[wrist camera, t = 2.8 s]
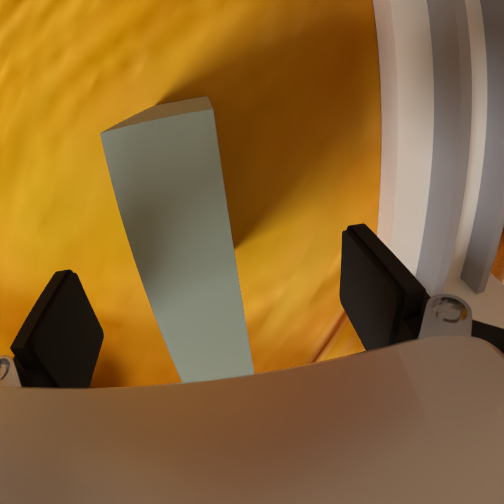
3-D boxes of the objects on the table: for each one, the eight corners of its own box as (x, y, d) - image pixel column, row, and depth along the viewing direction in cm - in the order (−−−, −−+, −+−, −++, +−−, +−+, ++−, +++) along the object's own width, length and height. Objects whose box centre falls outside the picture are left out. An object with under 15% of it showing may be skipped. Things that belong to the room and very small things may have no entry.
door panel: (154, 105, 16) (100, 133, 7) (207, 95, 16) (213, 108, 7) (186, 259, 21) (182, 383, 12) (231, 251, 21) (254, 373, 13)
